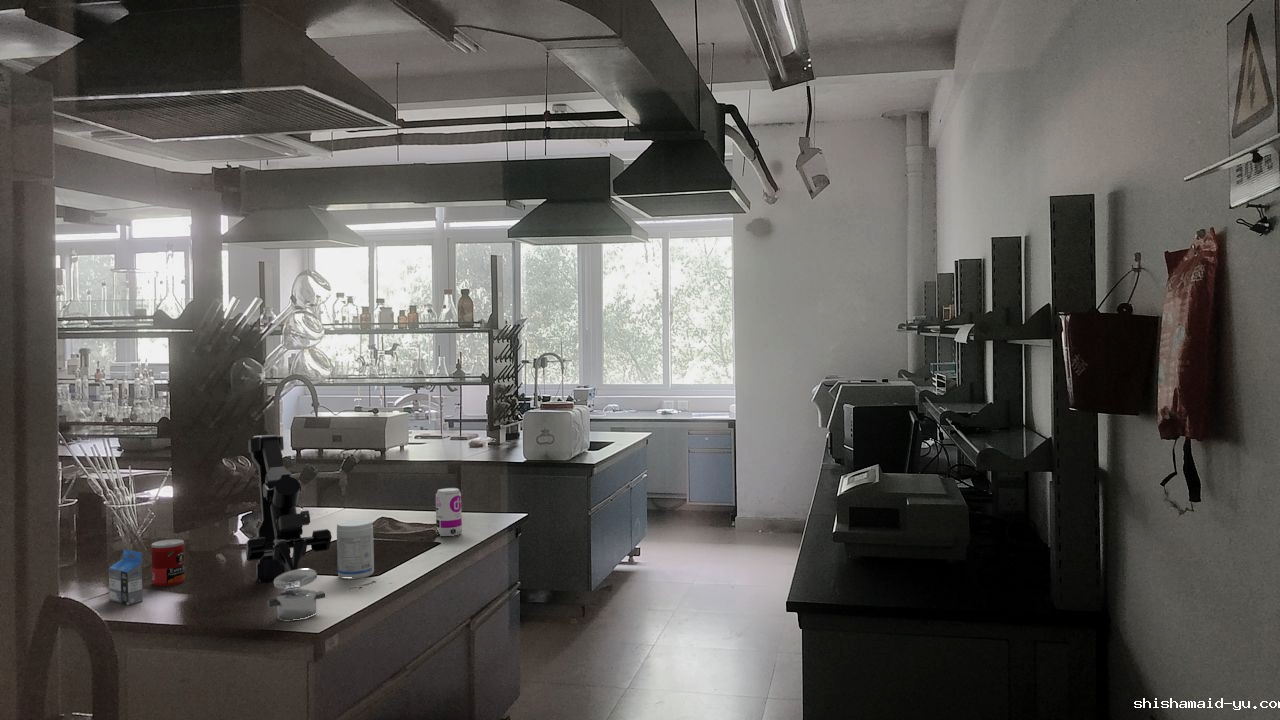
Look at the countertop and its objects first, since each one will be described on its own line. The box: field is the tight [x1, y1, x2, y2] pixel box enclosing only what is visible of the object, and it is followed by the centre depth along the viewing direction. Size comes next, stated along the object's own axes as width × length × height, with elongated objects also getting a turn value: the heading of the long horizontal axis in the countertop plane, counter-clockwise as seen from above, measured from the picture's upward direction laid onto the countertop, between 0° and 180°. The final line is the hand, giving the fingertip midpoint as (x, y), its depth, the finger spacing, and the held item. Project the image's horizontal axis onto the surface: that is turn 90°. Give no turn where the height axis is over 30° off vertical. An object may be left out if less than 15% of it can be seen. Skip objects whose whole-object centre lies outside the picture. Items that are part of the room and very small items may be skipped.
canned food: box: [150, 538, 186, 587], centre depth 229 cm, size 8×8×11 cm
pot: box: [267, 587, 326, 620], centre depth 198 cm, size 12×10×5 cm
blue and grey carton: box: [108, 548, 143, 606], centre depth 213 cm, size 9×4×12 cm, turn 59°
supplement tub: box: [336, 518, 375, 580], centre depth 233 cm, size 10×10×15 cm
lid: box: [273, 568, 318, 590], centre depth 199 cm, size 10×9×2 cm
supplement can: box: [435, 487, 463, 537], centre depth 281 cm, size 8×8×15 cm
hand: (294, 574), depth 200 cm, fingers closed
